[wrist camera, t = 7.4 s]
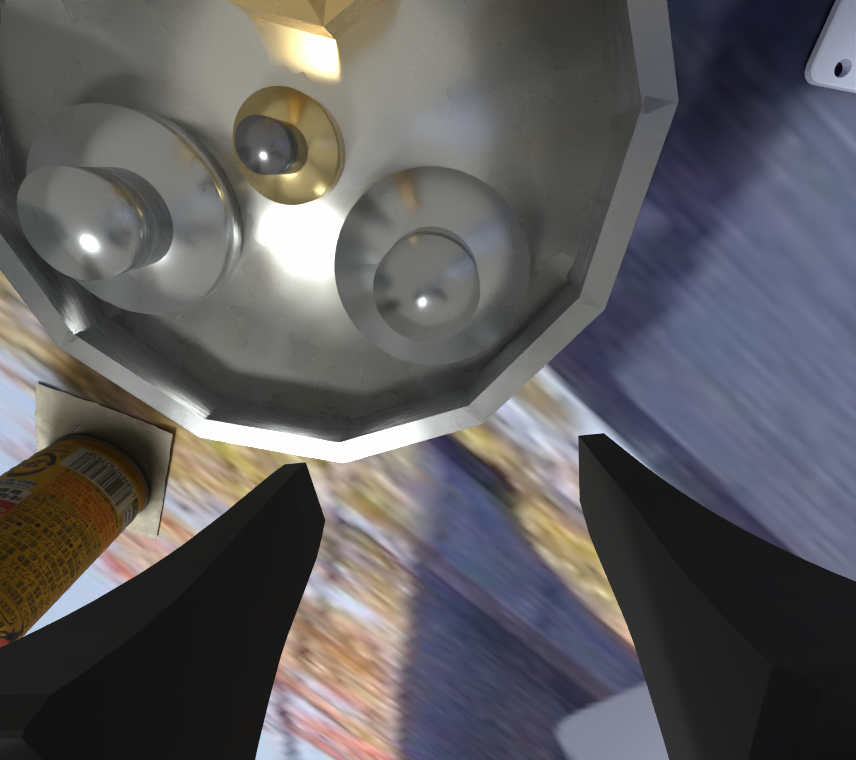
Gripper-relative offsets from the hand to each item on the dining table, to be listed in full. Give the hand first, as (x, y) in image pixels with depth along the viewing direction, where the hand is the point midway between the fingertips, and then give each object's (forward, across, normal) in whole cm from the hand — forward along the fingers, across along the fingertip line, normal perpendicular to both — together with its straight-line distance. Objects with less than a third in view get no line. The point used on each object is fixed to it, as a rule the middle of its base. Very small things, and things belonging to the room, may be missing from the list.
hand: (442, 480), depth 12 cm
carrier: (+10, +4, -9) cm, 14 cm away
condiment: (+10, +21, +5) cm, 23 cm away
